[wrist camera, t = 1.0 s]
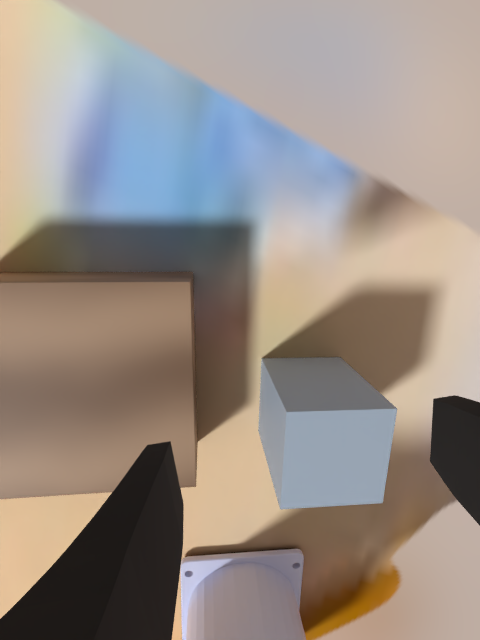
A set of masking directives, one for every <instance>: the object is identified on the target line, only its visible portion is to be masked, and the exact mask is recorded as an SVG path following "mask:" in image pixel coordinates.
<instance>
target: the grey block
mask: <svg viewBox="0 0 480 640" xmlns="http://www.w3.org/2000/svg"><path fill="white" fill-rule="evenodd" d="M396 413H397V408H396V407H395V406H394V405H392V404H391V403H390V402H389V401H388V400H387V399H386V398H385V397H384V396H383V395H381V394H380V393H379V392H378V391H377V390H376V389H375V388H374V387H373V386H372V385H370V384H369V383H368V382H367V381H366V380H365V379H364V378H363V377H362V376H361V375H359V374H358V373H357V372H356V371H355V370H354V369H353V368H352V367H351V366H350V365H348V364H347V363H346V362H345V361H344V360H343V359H342V358H341V357H316V358H262V362H261V384H260V407H259V430H258V431H259V434H260V438H261V442H262V445H263V449H264V453H265V456H266V460H267V463H268V467H269V471H270V474H271V478H272V482H273V485H274V489H275V492H276V496H277V500H278V503H279V507H280V509H294V508H311V507H327V506H344V505H360V504H377V503H383V497H384V491H385V484H386V478H387V471H388V465H389V458H390V452H391V445H392V439H393V432H394V426H395V419H396Z"/></svg>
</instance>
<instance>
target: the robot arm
mask: <svg viewBox="0 0 480 640" xmlns="http://www.w3.org/2000/svg"><path fill="white" fill-rule="evenodd" d="M430 462H431V463H432V465H433V466H434V468H435V469H436V471H437V472H438V474H439V475H440V477H441V478H442V480H443V481H444V483H445V484H446V485H447V487H448V488H449V489H450V491H451V492H452V494H453V495H454V496H455V498H456V499H457V500H458V501H459V502H460V503H461V505H462V506H463V507H464V508H465V509H466V510H467V511H468V513H469V514H470V515H471V516H472V517H473V518H474V519H475V521H476V522H477V523H478V524H479V525H480V403H479V402H476V401H473V400H470V399H466V398H463V397H459V396H448V397H442V398H436V399H434V400H433V418H432V437H431V455H430ZM182 548H183V499H182V495H181V490H180V485H179V480H178V475H177V470H176V465H175V460H174V455H173V451H172V446H171V441H169V442H162V443H156V444H150V445H147V446H146V447H145V448H144V450H143V451H142V452H141V454H140V455H139V456H138V458H137V459H136V461H135V462H134V463H133V465H132V466H131V468H130V469H129V470H128V472H127V473H126V475H125V476H124V477H123V479H122V480H121V481H120V483H119V484H118V486H117V487H116V488H115V490H114V491H113V492H112V494H111V495H110V496H109V497H108V499H107V500H106V501H105V503H104V504H103V505H102V507H101V508H100V509H99V511H98V512H97V513H96V514H95V516H94V517H93V518H92V519H91V521H90V522H89V523H88V524H87V526H86V527H85V528H84V529H83V530H82V532H81V533H80V534H79V535H78V536H77V538H76V539H75V540H74V541H73V542H72V544H71V545H70V546H69V547H68V548H67V550H66V551H65V552H64V553H63V554H62V555H61V556H60V558H59V559H58V560H57V561H56V562H55V563H54V564H53V565H52V567H51V568H50V569H49V570H48V571H47V572H46V573H45V574H44V575H43V576H42V577H41V578H40V579H39V580H38V581H37V582H36V584H35V585H34V586H33V587H32V588H31V589H30V590H29V591H28V592H27V593H26V594H25V595H24V596H23V597H22V598H21V599H20V600H19V601H18V602H17V603H16V604H15V605H14V606H13V607H12V608H11V609H10V610H9V611H8V612H7V613H6V614H5V615H4V616H3V617H2V618H1V619H0V640H171V639H172V631H173V622H174V614H175V606H176V598H177V590H178V582H179V573H180V565H181V607H182V640H306V637H305V633H304V629H303V625H302V621H301V617H300V613H299V607H300V596H301V586H302V575H303V564H304V556H303V553H302V551H301V550H300V549H285V550H271V551H257V552H243V553H229V554H215V555H201V556H188V557H185V558H183V560H182V561H181V557H182Z"/></svg>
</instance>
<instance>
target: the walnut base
mask: <svg viewBox="0 0 480 640" xmlns="http://www.w3.org/2000/svg"><path fill="white" fill-rule="evenodd" d="M169 441H171V446H172V451H173V455H174V460H175V465H176V470H177V475H178V480H179V485H180V488H182V487H196V470H197V443H198V441H197V402H196V364H195V325H194V286H193V272H0V499H11V498H26V497H42V496H58V495H73V494H89V493H104V492H113V491H114V490H115V488H116V487H117V486H118V484H119V483H120V481H121V480H122V479H123V477H124V476H125V475H126V473H127V472H128V470H129V469H130V468H131V466H132V465H133V463H134V462H135V461H136V459H137V458H138V456H139V455H140V454H141V452H142V451H143V450H144V448H145V447H146V446H147V445H150V444H156V443H162V442H169Z"/></svg>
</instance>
